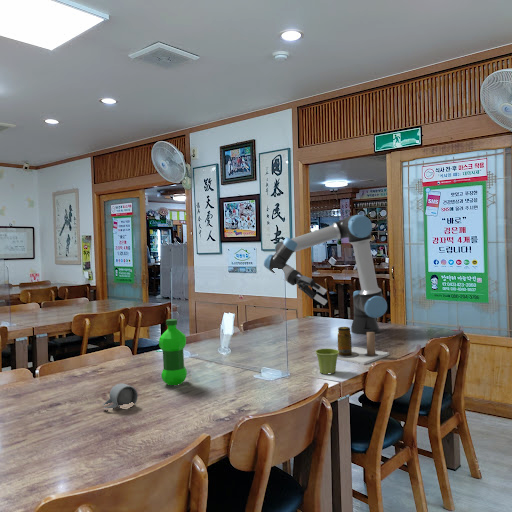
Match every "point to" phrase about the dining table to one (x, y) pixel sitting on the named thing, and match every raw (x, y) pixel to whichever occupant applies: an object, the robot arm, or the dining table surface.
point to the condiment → (345, 342)
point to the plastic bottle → (173, 354)
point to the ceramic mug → (122, 395)
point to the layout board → (365, 352)
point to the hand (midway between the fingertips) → (325, 298)
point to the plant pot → (327, 360)
